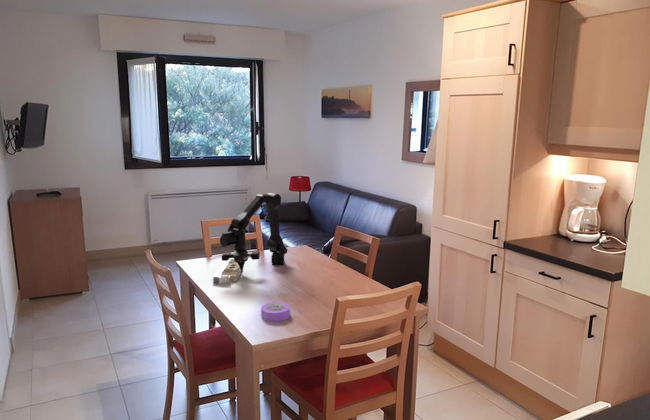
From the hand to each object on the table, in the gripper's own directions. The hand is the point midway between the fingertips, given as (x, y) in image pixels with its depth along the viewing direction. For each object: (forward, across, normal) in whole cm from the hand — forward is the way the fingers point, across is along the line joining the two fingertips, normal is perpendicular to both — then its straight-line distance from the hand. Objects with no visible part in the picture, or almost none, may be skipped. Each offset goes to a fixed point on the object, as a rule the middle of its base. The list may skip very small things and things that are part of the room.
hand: (242, 272), depth 245 cm
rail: (+1, -8, 0) cm, 8 cm away
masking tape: (+3, +21, -51) cm, 55 cm away
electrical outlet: (+2, -5, -2) cm, 5 cm away
